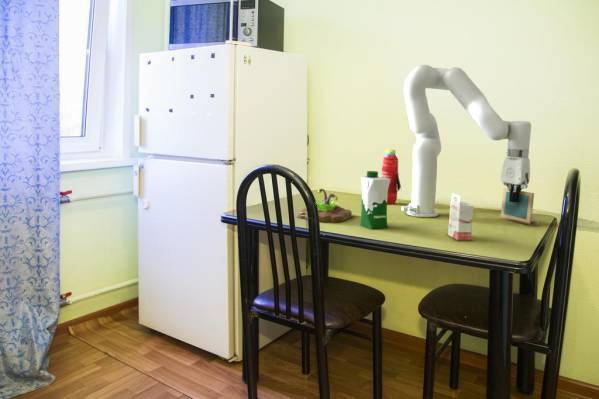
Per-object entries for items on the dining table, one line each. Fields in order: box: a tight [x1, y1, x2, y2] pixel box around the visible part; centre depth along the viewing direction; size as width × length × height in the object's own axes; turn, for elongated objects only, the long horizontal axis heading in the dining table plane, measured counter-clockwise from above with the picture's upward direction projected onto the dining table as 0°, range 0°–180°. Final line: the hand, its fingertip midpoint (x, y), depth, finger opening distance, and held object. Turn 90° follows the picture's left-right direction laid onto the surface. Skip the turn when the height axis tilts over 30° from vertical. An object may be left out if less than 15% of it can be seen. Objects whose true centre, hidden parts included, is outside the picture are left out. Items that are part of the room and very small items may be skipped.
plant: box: [297, 188, 353, 223], centre depth 199 cm, size 20×20×11 cm
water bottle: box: [381, 148, 402, 205], centre depth 229 cm, size 12×8×25 cm, turn 36°
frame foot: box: [501, 217, 539, 227], centre depth 195 cm, size 2×15×2 cm, turn 24°
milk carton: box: [360, 170, 390, 230], centre depth 182 cm, size 9×9×20 cm
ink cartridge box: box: [447, 192, 474, 241], centre depth 168 cm, size 9×5×15 cm, turn 5°
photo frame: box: [500, 187, 535, 223], centre depth 194 cm, size 12×14×5 cm
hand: (513, 201), depth 193 cm, fingers closed
